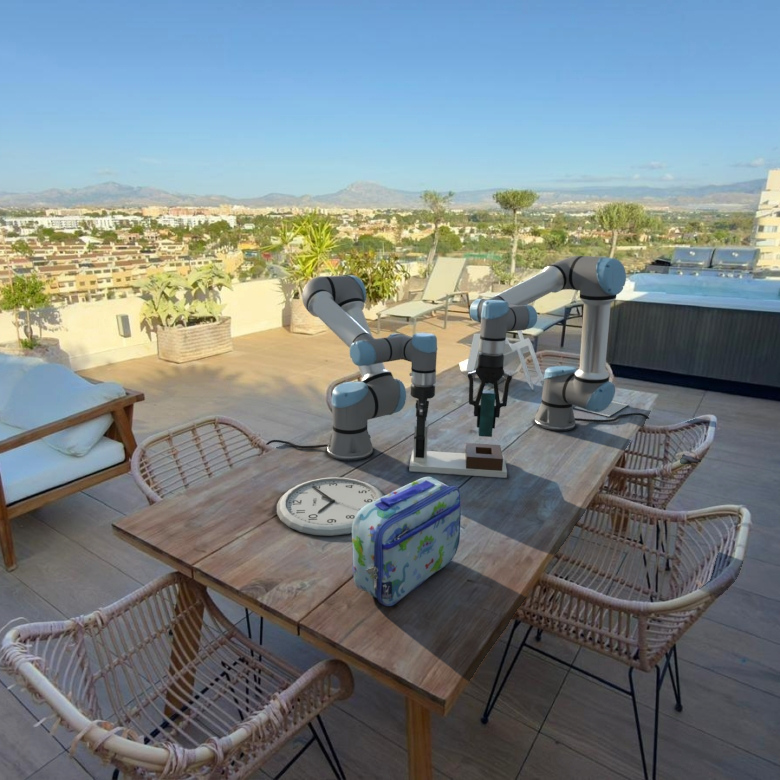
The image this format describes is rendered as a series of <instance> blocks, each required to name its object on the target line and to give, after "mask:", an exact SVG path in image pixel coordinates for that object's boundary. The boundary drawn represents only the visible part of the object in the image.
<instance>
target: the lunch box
mask: <svg viewBox="0 0 780 780" xmlns="http://www.w3.org/2000/svg"><path fill="white" fill-rule="evenodd" d="M461 499H462V497H461V491H460V489H459V488H458V487H457V486H455V485H450V486H449V485H447V484H445V483H444V482H442V481H440V480H438V479H436V478H434V477H432V476H424V477H421V478H419V479H416V480H414V481H412V482H410V483H407V484H405V485H404V486H401V487H399V488H397V489H395V490H392V491H391V492H390V493H386V494H384V496H383V497H381V498H379V499H377V500H375V501H373V502H371V503H369V504H367V505H365V506H364V507H362V508H361V509H360V510H359V512H358V513H357V515H356V516H355V518H354V521H353V526H352V533H351V550H352V576H353V581H354V584H355V587H356V588H358V589H360V590H362V591H364V592H366V593H368V594H370V596H372V597H374V598H375V599H377V601H378V603H379V604H382V605H383V606H385V607H393V606H394V605H396V604H397V603H399V602H400V601H402V599H404V598H405V597H406V596H407V595H409V594H410V593H411V592H413V591H414V590H415V589H416V588H418V587H419V586H420V585H422V584H423V583H424V582H425V581H427V580H428V579H429V578H430V577H432V575H434V574H435V573H437V572H439V571H441V570H442V569H443V568H445V567H446V566H448V565H449V564H450V562H452V560H453V559H454V557H455V555H456V553H457V551H458V549H459V544H460V537H461V519H462V515H461V513H462V512H461V510H462V507H461V505H462V504H461V503H462V502H461Z"/></svg>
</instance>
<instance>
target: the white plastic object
mask: <svg viewBox="0 0 780 780" xmlns="http://www.w3.org/2000/svg"><path fill="white" fill-rule="evenodd" d="M516 332H517V334H518V339H519V340H518V341H516V342H514V343H511V342H510V341H509V339H508V337H507V336H506V340H505V352H504V353H503V355H504V363H503V369H505V367H507V366H509V364H511V363H512V362H514V361H515V360H517V359H518V358H519V361H520V365H521V368H522V370H523V374H524V377H525V380H526V384H527V385H528V386H529V387H530V389H531V390H532V391H534V384H533V380H532V378H531V374H530V371H529V368H528V365H527V361H526V358H525V356H524V355H525V354H527V353H530V357H531V359H532V362H533V366H534V368H535V371H536V374H537V377H538V380H539V383H540V384H541V386H542V387H543V381H544V379H543V378H544V375H543V373H542V370H541V367H540V363H539V361H538V357H537V355H536V352H535V349H534V345H533V343H532V341H531V339H530V338H529V337H526V338H525V336H524V334H523V330H519V331H516ZM472 336H473V337H472V340H471V346H470V350H469V353H468V354H469V355H468V358H467V359H464V360H463V361H461V362H458V365H459V369H460V372H461V374H462V376H464V377H465V378H468V372H473V371H476V369H477V367H478V356H479V353H480V351H479V343H480V332H479V333H473V335H472ZM476 376H477V377H478V375H475V377H476Z"/></svg>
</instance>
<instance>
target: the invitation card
mask: <svg viewBox="0 0 780 780" xmlns="http://www.w3.org/2000/svg"><path fill="white" fill-rule="evenodd" d="M628 406H629V404H627V403H623V402H618V401H614V400H612V402H611V403H610V405H609V406H608V407H607V408H606V409H605V410H603V411H601V412H594V411H588V410H586V409H584V408H581V407H578V406H574V407H573V409H575V410H581V411H584V412H587V413H593V414H596V415H600V416H604V417H608V418H609V417H611V416H613V415H614V414H616V413H617V412H619V411H621V410H623V409H624V408H626V407H628Z"/></svg>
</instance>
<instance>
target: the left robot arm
mask: <svg viewBox="0 0 780 780" xmlns="http://www.w3.org/2000/svg"><path fill="white" fill-rule="evenodd" d="M301 300H302V303H303V306H304V308H305V309H306V311H307V312H308V313H309V314H310V315H311V316H312V317H315V318H318V319H320V320H321V322H322V323H324V324H325V325H326V326H327V328H328V329H330V330H331V331H332V332H333V333H334V334H335V335H336V336H337V337H338V338H339V339H340V341H342V342H343V343H344V344H345V346H346V347H348V348H349V357H350V359H351V361H352V363H353V364H354V365H355V366H357V367H358V370H359V373H360V375H361V378H362V379H361V381H358V380H354V381H345V382H343V383H340V384H338V385H337V386H335V387H334V389H333V390H332V393H331V394H332V395H331V401H330V403H331V414H332V415H331V416H332V418H331V421H332V422H331V423H332V430H331V434H330V437H329V441H328V444H327V443H326V444H317V445H299V444H295V443H292V442H291V441H287V440H282V439H272V440H269V441H267V442H266V443H265V445H266V446H269V445H270V444H272V443H280V444H286V445H290V446H292V447H293V448H298V449H317V448H319V449H320V448H326V449H327V450H326V451H327V454H328V456H329V457H331V458H333V459H335V460H338V461H347V462H353V461H360V460H364V459H367V458H368V457H370V456H372V454H373V452H374V450H373V449H374V446H373V443H372V440H371V435H370V434H369V430H368V420H372V419H373V420H374V419H376V418H381V417H384V416H392V415H394V414H396V413H399V412H400V411H402V409H404V406H405V405H406V400H407V391H406V390H407V389H406V387H405V384H404V383H403V381H402V380H400V379H399V378H394V375H393V373H392V371H390V370H388V369H387V368H386V367H385V364H384V363H388V362H394V361H395V362H396V361H400V360H401V361H402V360H403V361H407V362H410V363H411V368H410V370H411V372H409V373H408V375H409V377H410V382H411V384H410V397H412V398H414V399H416V400H415V401H416V402H415V417H416V420H417V428H416V437H414V436H413V440H414V439H416V456H415V457H417V458H424V448H425V436H424V435H425V420H427V417H428V412H429V405H430V400H431V399H433V398H434V397H435V396H436V385H435V384H436V382H437V381H436V379H437V357H438V356H437V354H438V337H437V336H436V335H435V334H434V333H430V332H429V333H428V332H417V333H414V334H413V335H412V336H410V335H407V334H404V333H398V332H397V333H396V332H395V333H391V334H390V335H388V336H387V337H386V336H385V337H380V338H375V337H374V336H373V333H372V331H371V329H370V326H369V324H368V321H367V319H366V316H365V314H364V311H363V310H364V309H365V306H366V305H365V303H366V301H367V289H366V286H365V284H364V282H363V280H362V279H361V278H359V277H358V276H356V275H351V274H350V275H349V274H342V275H326V276H323V275H322V276H315V277H313V278H311V279H310V280H308V282H306V284H305V285H304V287H303V290H302V293H301Z"/></svg>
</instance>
